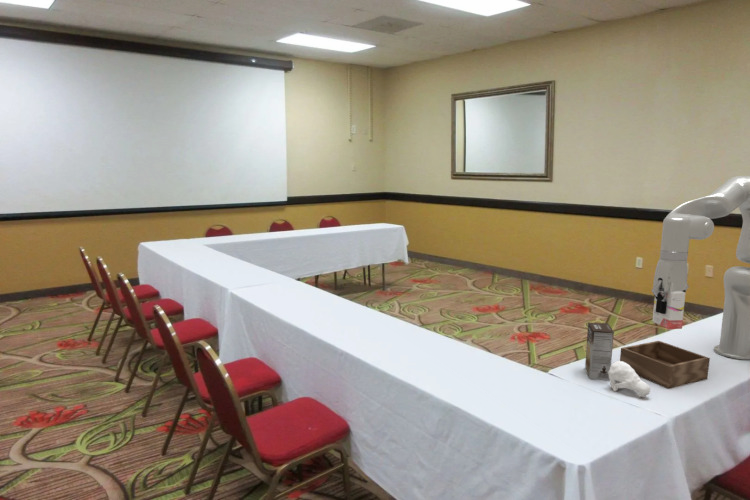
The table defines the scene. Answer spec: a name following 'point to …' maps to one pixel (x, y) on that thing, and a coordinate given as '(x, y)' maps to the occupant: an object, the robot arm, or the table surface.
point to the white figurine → (627, 378)
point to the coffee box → (599, 350)
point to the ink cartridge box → (671, 310)
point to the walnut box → (666, 364)
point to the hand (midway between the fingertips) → (668, 311)
